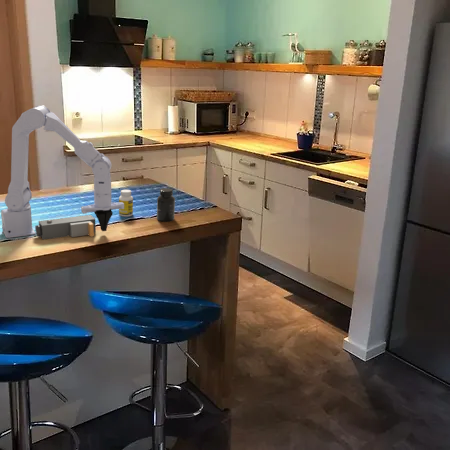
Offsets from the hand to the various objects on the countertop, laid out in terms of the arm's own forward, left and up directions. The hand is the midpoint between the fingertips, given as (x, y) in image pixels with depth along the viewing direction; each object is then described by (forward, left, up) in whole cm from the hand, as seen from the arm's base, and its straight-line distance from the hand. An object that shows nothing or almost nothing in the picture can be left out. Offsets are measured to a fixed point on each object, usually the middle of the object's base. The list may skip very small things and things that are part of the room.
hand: (103, 230), depth 174 cm
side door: (-7, +1, -1) cm, 8 cm away
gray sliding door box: (-11, +6, -2) cm, 12 cm away
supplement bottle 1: (+15, +18, -2) cm, 23 cm away
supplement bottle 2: (+27, +7, -2) cm, 28 cm away
